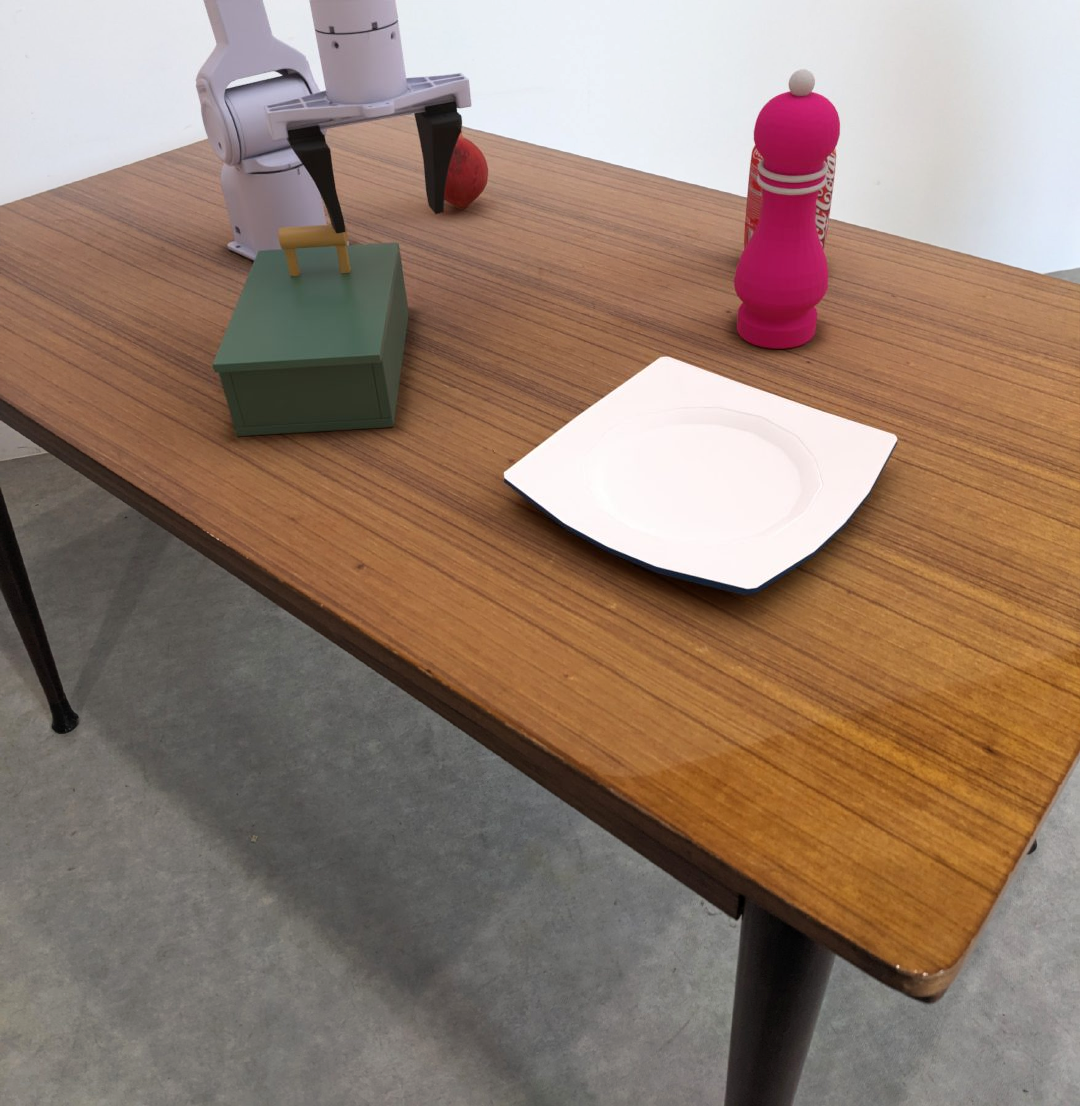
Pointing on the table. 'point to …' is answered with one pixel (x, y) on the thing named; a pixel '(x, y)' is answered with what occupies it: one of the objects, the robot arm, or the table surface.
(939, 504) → the table surface
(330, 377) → the chest
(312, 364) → the lid
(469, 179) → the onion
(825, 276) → the pepper mill
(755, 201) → the soda can
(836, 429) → the plate
